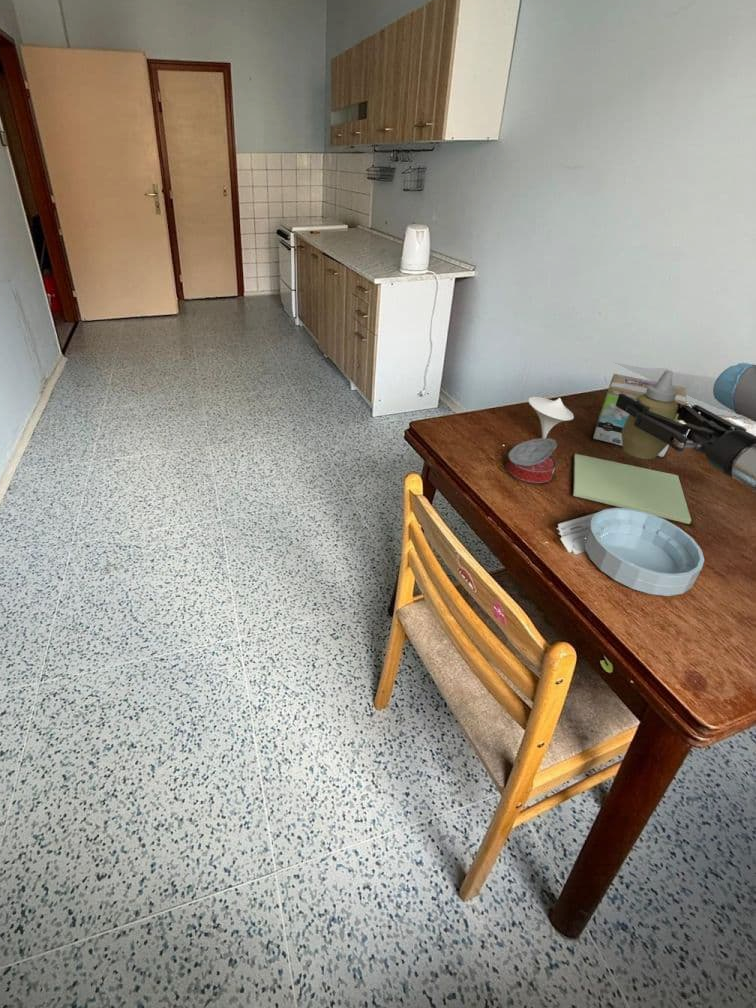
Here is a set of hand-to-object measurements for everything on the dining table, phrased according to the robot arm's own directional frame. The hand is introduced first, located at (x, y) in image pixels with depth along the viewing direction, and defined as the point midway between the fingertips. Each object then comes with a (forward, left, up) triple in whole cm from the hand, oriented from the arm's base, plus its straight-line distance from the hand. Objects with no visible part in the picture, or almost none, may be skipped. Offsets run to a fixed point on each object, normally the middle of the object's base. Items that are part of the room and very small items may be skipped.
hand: (634, 397), depth 96 cm
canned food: (+16, +6, -19) cm, 26 cm away
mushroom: (+14, -9, -19) cm, 25 cm away
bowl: (-3, +27, -19) cm, 33 cm away
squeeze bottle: (-3, +4, -10) cm, 11 cm away
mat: (-3, +4, -19) cm, 20 cm away
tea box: (-5, -18, -19) cm, 27 cm away
